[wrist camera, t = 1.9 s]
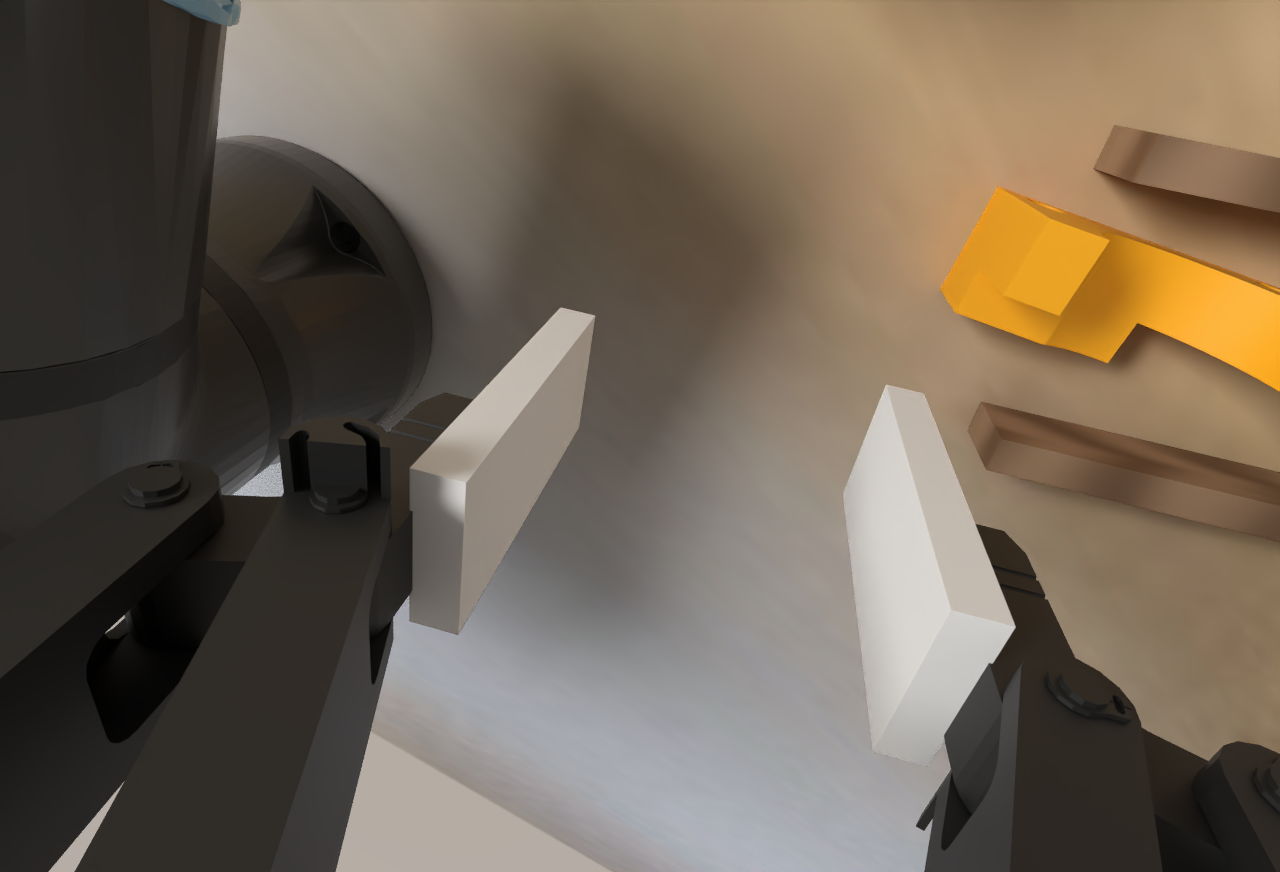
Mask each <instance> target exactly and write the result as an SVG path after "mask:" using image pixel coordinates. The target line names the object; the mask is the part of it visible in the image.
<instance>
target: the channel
mask: <svg viewBox="0 0 1280 872" xmlns="http://www.w3.org/2000/svg"><path fill="white" fill-rule="evenodd" d="M1094 169H1097V170H1100V171H1102V172H1105V173H1108V174H1111V175H1114V176H1116V177H1119V178H1122V179H1125V180H1128V181H1130V182H1133V183H1137V184H1142V185H1147V186H1152V187H1157V188H1162V189H1166V190H1171V191H1176V192H1181V193H1186V194H1191V195H1195V196H1200V197H1205V198H1210V199H1215V200H1220V201H1225V202H1229V203H1234V204H1239V205H1244V206H1249V207H1254V208H1258V209H1263V210H1268V211H1273V212H1278V213H1280V158H1276V157H1271V156H1266V155H1261V154H1256V153H1251V152H1246V151H1241V150H1236V149H1231V148H1226V147H1221V146H1216V145H1211V144H1206V143H1201V142H1196V141H1191V140H1186V139H1181V138H1176V137H1171V136H1166V135H1161V134H1156V133H1151V132H1146V131H1141V130H1136V129H1131V128H1126V127H1121V126H1116V125H1115V126H1114V128H1113V130H1112V132H1111V134H1110V136H1109V138H1108V140H1107V142H1106V144H1105V146H1104V149H1103V151H1102V153H1101V155H1100V157H1099V159H1098V161H1097V163H1096V165H1095V167H1094ZM968 432H969V434H970V436H971V439H972V441H973V443H974V445H975V447H976V449H977V451H978V453H979V456H980V458H981V460H982V462H983V464H984V466H985V468H986V470H989V471H993V472H997V473H1001V474H1005V475H1010V476H1014V477H1018V478H1022V479H1026V480H1030V481H1034V482H1038V483H1042V484H1046V485H1050V486H1054V487H1059V488H1063V489H1067V490H1071V491H1075V492H1079V493H1083V494H1087V495H1091V496H1095V497H1099V498H1103V499H1108V500H1112V501H1116V502H1120V503H1124V504H1128V505H1132V506H1136V507H1140V508H1144V509H1148V510H1153V511H1157V512H1161V513H1165V514H1169V515H1173V516H1177V517H1181V518H1185V519H1189V520H1193V521H1197V522H1202V523H1206V524H1210V525H1214V526H1218V527H1222V528H1226V529H1230V530H1234V531H1238V532H1242V533H1246V534H1251V535H1255V536H1259V537H1263V538H1267V539H1271V540H1275V541H1279V542H1280V473H1279V472H1275V471H1271V470H1267V469H1263V468H1258V467H1254V466H1250V465H1246V464H1241V463H1237V462H1233V461H1229V460H1225V459H1220V458H1216V457H1212V456H1208V455H1203V454H1199V453H1195V452H1191V451H1187V450H1182V449H1178V448H1174V447H1170V446H1165V445H1161V444H1157V443H1153V442H1149V441H1144V440H1140V439H1136V438H1132V437H1127V436H1123V435H1119V434H1115V433H1110V432H1106V431H1102V430H1098V429H1094V428H1089V427H1085V426H1081V425H1077V424H1072V423H1068V422H1064V421H1060V420H1056V419H1051V418H1047V417H1043V416H1039V415H1034V414H1030V413H1026V412H1022V411H1018V410H1013V409H1009V408H1005V407H1001V406H996V405H992V404H988V403H984V402H981V404H980V406H979V408H978V410H977V412H976V414H975V416H974V418H973V421H972V423H971V425H970V427H969V429H968Z"/></svg>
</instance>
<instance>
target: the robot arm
mask: <svg viewBox="0 0 1280 872" xmlns="http://www.w3.org/2000/svg"><path fill="white" fill-rule="evenodd" d="M240 11H241V1H240V0H0V872H48V871H49V870H50V869H51V868H52V866H53V865H54V864H55V863H56V862H57V861H58V860H59V858H60V857H61V856H62V855H63V854H64V852H65V851H66V850H67V849H68V848H69V846H70V845H71V844H72V843H73V842H74V840H75V839H76V838H77V837H78V835H80V833H81V832H82V831H83V830H84V829H85V827H86V826H87V825H88V824H89V823H90V821H91V820H92V819H93V818H94V817H95V815H96V814H97V813H98V812H99V811H100V809H101V808H102V807H103V806H104V805H105V804H106V802H107V801H108V800H109V799H110V798H111V796H112V795H113V794H114V792H116V790H117V789H118V788H119V787H120V786H121V784H122V783H123V782H124V783H123V785H122V787H121V789H120V791H119V793H118V794H117V796H116V798H115V800H114V801H113V803H112V805H111V807H110V809H109V810H108V812H107V814H106V816H105V818H104V819H103V821H102V823H101V825H100V827H99V829H98V831H97V832H96V834H95V836H94V838H93V839H92V841H91V843H90V845H89V847H88V848H87V850H86V852H85V854H84V856H83V858H82V859H81V861H80V863H79V865H78V867H77V868H76V870H75V872H335V871H336V867H337V863H338V859H339V855H340V851H341V847H342V843H343V839H344V835H345V831H346V827H347V823H348V819H349V815H350V811H351V807H352V803H353V799H354V795H355V791H356V787H357V783H358V779H359V775H360V771H361V767H362V763H363V759H364V755H365V751H366V747H367V743H368V739H369V735H370V731H371V727H372V723H373V719H374V715H375V711H376V707H377V703H378V699H379V695H380V691H381V687H382V683H383V679H384V675H385V671H386V667H387V663H388V659H389V655H390V651H391V647H392V643H393V616H394V615H395V614H396V612H397V611H398V610H399V608H400V607H401V605H402V604H403V603H404V601H405V600H406V598H407V597H408V596H409V594H410V621H411V622H414V623H418V624H421V625H425V626H428V627H432V628H435V629H439V630H443V631H446V632H450V633H453V634H457V635H459V633H460V631H461V629H462V628H463V626H464V624H465V623H466V621H467V619H468V617H469V616H470V614H471V612H472V611H473V609H474V607H475V605H476V604H477V602H478V600H479V599H480V597H481V595H482V593H483V592H484V590H485V588H486V587H487V585H488V583H489V581H490V580H491V578H492V576H493V575H494V573H495V571H496V569H497V568H498V566H499V564H500V562H501V561H502V559H503V557H504V556H505V554H506V552H507V550H508V549H509V547H510V545H511V544H512V542H513V540H514V538H515V537H516V535H517V533H518V532H519V530H520V528H521V526H522V525H523V523H524V521H525V520H526V518H527V516H528V514H529V513H530V511H531V509H532V508H533V506H534V504H535V502H536V501H537V499H538V497H539V496H540V494H541V492H542V490H543V489H544V487H545V485H546V483H547V482H548V480H549V478H550V477H551V475H552V473H553V471H554V470H555V468H556V466H557V465H558V463H559V461H560V459H561V458H562V456H563V454H564V453H565V451H566V449H567V447H568V446H569V444H570V442H571V441H572V439H573V437H574V435H575V434H576V432H577V430H578V429H579V425H580V418H581V411H582V404H583V398H584V391H585V384H586V377H587V370H588V363H589V357H590V350H591V343H592V336H593V329H594V322H595V315H591V314H587V313H582V312H578V311H574V310H570V309H565V308H560V309H559V310H558V311H557V312H556V313H555V314H554V315H553V316H552V317H551V318H550V319H549V320H548V321H547V322H546V324H545V325H544V326H543V327H542V328H541V329H540V330H539V331H538V332H537V333H536V334H535V335H534V336H533V337H532V338H531V339H530V341H529V342H528V343H527V344H526V345H525V346H524V347H523V348H522V349H521V350H520V351H519V352H518V353H517V354H516V355H515V356H514V358H513V359H512V360H511V361H510V362H509V363H508V364H507V365H506V366H505V367H504V368H503V369H502V370H501V371H500V372H499V374H498V375H497V376H496V377H495V378H494V379H493V380H492V381H491V382H490V383H489V384H488V385H487V386H486V387H485V388H484V389H483V391H482V392H481V393H480V394H479V395H478V396H477V397H476V398H475V399H474V400H471V399H468V398H464V397H460V396H456V395H452V394H448V393H444V394H441V395H438V396H436V397H433V398H431V399H428V400H426V401H423V402H421V403H420V404H418V405H417V406H416V407H415V408H414V409H413V410H412V411H411V412H410V413H409V414H408V415H406V416H405V418H404V420H401V421H400V422H399V423H398V424H397V425H396V426H394V427H393V428H392V431H391V433H390V432H388V433H386V431H385V430H384V429H383V428H382V427H380V426H379V425H380V424H381V423H383V422H384V421H385V420H386V419H387V418H388V417H390V416H391V415H392V414H393V413H394V412H395V411H396V410H398V409H399V408H400V407H401V406H402V405H403V404H404V403H405V402H406V401H407V400H408V399H409V397H410V396H411V395H412V394H413V392H414V391H415V389H416V388H417V386H418V384H419V382H420V381H421V379H422V376H423V374H424V372H425V369H426V366H427V363H428V359H429V354H430V348H431V339H432V319H431V309H430V303H429V298H428V293H427V289H426V286H425V282H424V279H423V276H422V273H421V270H420V268H419V265H418V263H417V261H416V258H415V256H414V254H413V252H412V250H411V248H410V246H409V244H408V242H407V241H406V239H405V237H404V236H403V234H402V232H401V231H400V229H399V228H398V226H397V225H396V223H395V222H394V220H393V219H392V218H391V216H390V215H389V214H388V212H387V211H386V210H385V209H384V207H383V206H382V205H381V204H380V203H379V202H378V201H377V199H376V198H375V197H374V196H373V195H372V194H371V193H370V192H369V191H368V190H367V189H366V188H365V187H364V186H362V185H361V184H360V183H359V182H358V181H357V180H356V179H354V178H353V177H352V176H351V175H349V174H348V173H347V172H346V171H344V170H343V169H341V168H340V167H339V166H337V165H336V164H334V163H333V162H331V161H329V160H328V159H326V158H324V157H322V156H321V155H319V154H317V153H315V152H313V151H311V150H308V149H306V148H304V147H301V146H299V145H296V144H293V143H290V142H287V141H283V140H279V139H275V138H269V137H262V136H236V137H228V138H221V139H216V137H217V126H218V115H219V104H220V93H221V82H222V71H223V60H224V49H225V40H226V31H227V26H232V25H236V24H238V22H239V18H240ZM279 462H281V470H282V479H283V488H284V494H283V495H282V497H259V496H236V495H232V494H234V493H235V492H236V491H237V490H239V489H240V488H241V487H243V486H244V485H245V484H246V483H247V482H248V481H250V480H251V479H252V478H254V477H255V476H256V475H258V474H259V473H260V472H262V471H263V470H264V469H266V468H267V467H268V466H269V465H272V464H275V463H279ZM843 499H844V508H845V516H846V525H847V534H848V542H849V551H850V559H851V568H852V577H853V585H854V594H855V603H856V611H857V620H858V629H859V637H860V646H861V655H862V663H863V672H864V680H865V689H866V698H867V706H868V715H869V724H870V732H871V741H872V750H873V752H875V753H879V754H882V755H886V756H889V757H893V758H896V759H900V760H903V761H907V762H911V763H914V764H918V765H921V766H925V767H928V766H929V764H930V763H931V761H932V759H933V758H934V756H935V755H936V753H937V751H938V750H939V748H940V747H941V745H942V744H943V742H944V740H945V744H946V748H947V753H948V757H949V762H950V766H951V771H950V772H949V774H948V775H947V777H946V778H945V780H944V781H943V783H942V784H941V786H940V787H939V789H938V790H937V792H936V793H935V795H934V796H933V798H932V799H931V801H930V802H929V804H928V806H927V807H926V809H925V810H924V812H923V813H922V815H921V817H920V819H919V821H918V823H917V825H916V827H918V828H920V829H922V830H923V831H924V830H925V829H926V827H927V826H928V824H929V823H930V821H931V820H932V819H933V823H932V829H931V835H930V841H929V847H928V853H927V859H926V865H925V871H924V872H1280V754H1279V753H1276V752H1274V751H1272V750H1269V749H1267V748H1265V747H1262V746H1260V745H1256V744H1250V743H1244V742H1239V741H1237V742H1234V743H1230V744H1227V745H1224V746H1223V747H1222V748H1221V749H1220V750H1219V751H1218V752H1217V753H1216V754H1215V755H1214V756H1213V757H1212V758H1211V759H1210V760H1209V761H1207V760H1205V759H1203V758H1201V757H1199V756H1197V755H1195V754H1193V753H1191V752H1189V751H1186V750H1184V749H1182V748H1180V747H1178V746H1176V745H1174V744H1172V743H1170V742H1168V741H1166V740H1164V739H1162V738H1160V737H1158V736H1156V735H1154V734H1152V733H1150V732H1148V731H1147V730H1145V729H1143V728H1142V727H1141V722H1140V720H1139V717H1138V715H1137V712H1136V710H1135V707H1134V705H1133V704H1132V703H1131V702H1130V700H1129V699H1128V698H1127V697H1126V695H1125V694H1124V693H1123V692H1122V691H1121V689H1120V688H1119V687H1118V686H1116V685H1115V684H1114V683H1113V682H1112V681H1110V680H1109V679H1108V678H1107V677H1105V676H1104V675H1103V674H1102V673H1101V672H1099V671H1098V670H1096V669H1094V668H1092V667H1090V666H1089V665H1087V664H1085V663H1083V662H1082V661H1080V660H1078V659H1075V657H1074V655H1073V652H1072V650H1071V648H1070V646H1069V644H1068V642H1067V640H1066V638H1065V636H1064V633H1063V631H1062V629H1061V627H1060V625H1059V623H1058V621H1057V619H1056V616H1055V614H1054V612H1053V610H1052V608H1051V606H1050V604H1049V602H1048V600H1046V599H1045V593H1044V591H1043V589H1042V587H1041V585H1040V583H1039V581H1037V580H1036V577H1037V576H1036V574H1035V572H1034V570H1033V568H1032V566H1031V564H1030V561H1029V559H1028V557H1027V555H1026V553H1025V552H1024V551H1023V550H1022V549H1021V548H1020V547H1019V546H1018V545H1017V544H1016V543H1015V542H1014V541H1013V540H1012V539H1011V538H1010V537H1009V536H1008V535H1007V534H1006V533H1005V532H1004V531H1001V530H997V529H993V528H989V527H985V526H981V525H977V524H975V522H974V520H973V517H972V515H971V512H970V509H969V507H968V504H967V502H966V499H965V497H964V494H963V492H962V489H961V487H960V484H959V481H958V479H957V476H956V474H955V471H954V469H953V466H952V464H951V461H950V459H949V456H948V454H947V451H946V448H945V446H944V443H943V441H942V438H941V436H940V433H939V431H938V428H937V426H936V423H935V421H934V418H933V415H932V413H931V410H930V408H929V405H928V403H927V400H926V398H925V395H924V393H920V392H916V391H911V390H907V389H903V388H899V387H895V386H890V385H886V386H885V389H884V391H883V394H882V396H881V399H880V401H879V404H878V406H877V409H876V411H875V414H874V416H873V419H872V421H871V424H870V427H869V429H868V432H867V434H866V437H865V439H864V442H863V444H862V447H861V449H860V452H859V454H858V457H857V459H856V462H855V464H854V467H853V469H852V472H851V475H850V477H849V480H848V482H847V485H846V487H845V490H844V492H843ZM123 615H125V618H124V619H123V620H122V621H121V622H120V623H119V624H118V625H117V626H116V627H115V628H113V629H112V630H110V631H108V632H107V633H105V632H106V631H107V630H108V629H110V628H111V627H112V626H113V625H114V624H115V623H116V622H117V621H118V620H119V619H120V618H121V617H123Z"/></svg>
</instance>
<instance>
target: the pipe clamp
mask: <svg viewBox="0 0 1280 872" xmlns="http://www.w3.org/2000/svg"><path fill="white" fill-rule="evenodd" d="M940 290H941V291H942V293H943V294H944V296H945V298H946V299H947V301H948V302H949V304H950V305H951V307H952V309H953V310H954V312H955V313H958V314H961V315H963V316H966V317H969V318H972V319H974V320H977V321H980V322H983V323H985V324H988V325H991V326H993V327H996V328H999V329H1002V330H1004V331H1007V332H1010V333H1013V334H1015V335H1018V336H1021V337H1024V338H1026V339H1029V340H1032V341H1034V342H1037V343H1040V344H1043V345H1049V346H1055V347H1059V348H1063V349H1067V350H1071V351H1074V352H1077V353H1080V354H1083V355H1086V356H1089V357H1092V358H1095V359H1098V360H1100V361H1103V362H1106V363H1108V362H1109V361H1110V359H1111V358H1112V357H1113V355H1114V354H1115V353H1116V351H1117V350H1118V348H1119V347H1120V346H1121V344H1122V343H1123V342H1124V340H1125V339H1126V338H1127V336H1128V335H1129V334H1130V332H1131V331H1132V330H1133V328H1134V327H1135V326H1136V324H1137V323H1139V324H1141V325H1144V326H1146V327H1149V328H1151V329H1154V330H1156V331H1159V332H1161V333H1163V334H1166V335H1168V336H1170V337H1173V338H1175V339H1177V340H1180V341H1182V342H1184V343H1186V344H1189V345H1191V346H1193V347H1195V348H1197V349H1199V350H1202V351H1204V352H1206V353H1208V354H1210V355H1212V356H1214V357H1216V358H1218V359H1220V360H1222V361H1224V362H1226V363H1228V364H1230V365H1232V366H1234V367H1236V368H1238V369H1240V370H1242V371H1244V372H1246V373H1248V374H1249V375H1251V376H1253V377H1255V378H1257V379H1259V380H1260V381H1262V382H1264V383H1266V384H1267V385H1269V386H1271V387H1273V388H1274V389H1276V390H1278V391H1279V392H1280V288H1277V287H1274V286H1272V285H1269V284H1266V283H1263V282H1260V281H1258V280H1255V279H1252V278H1249V277H1247V276H1244V275H1241V274H1238V273H1236V272H1233V271H1230V270H1227V269H1225V268H1222V267H1219V266H1216V265H1214V264H1211V263H1208V262H1205V261H1202V260H1200V259H1197V258H1194V257H1191V256H1189V255H1186V254H1183V253H1180V252H1178V251H1175V250H1172V249H1169V248H1167V247H1164V246H1161V245H1158V244H1156V243H1153V242H1150V241H1147V240H1144V239H1142V238H1139V237H1136V236H1133V235H1131V234H1128V233H1125V232H1122V231H1120V230H1117V229H1114V228H1111V227H1109V226H1106V225H1103V224H1100V223H1098V222H1095V221H1092V220H1089V219H1086V218H1084V217H1081V216H1078V215H1075V214H1073V213H1070V212H1067V211H1064V210H1062V209H1059V208H1056V207H1053V206H1051V205H1048V204H1045V203H1042V202H1040V201H1037V200H1034V199H1031V198H1028V197H1026V196H1023V195H1020V194H1017V193H1015V192H1012V191H1009V190H1006V189H1004V188H1001V187H997V189H996V191H995V192H994V194H993V196H992V198H991V200H990V201H989V203H988V205H987V207H986V209H985V210H984V212H983V214H982V216H981V217H980V219H979V221H978V223H977V225H976V226H975V228H974V230H973V232H972V234H971V235H970V237H969V239H968V241H967V242H966V244H965V246H964V248H963V250H962V251H961V253H960V255H959V257H958V258H957V260H956V262H955V264H954V266H953V267H952V269H951V271H950V273H949V275H948V276H947V278H946V280H945V282H944V283H943V285H942V287H941V289H940Z"/></svg>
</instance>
